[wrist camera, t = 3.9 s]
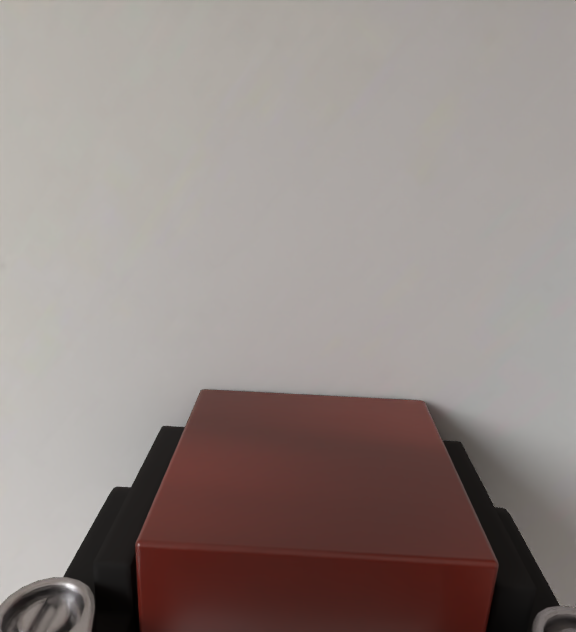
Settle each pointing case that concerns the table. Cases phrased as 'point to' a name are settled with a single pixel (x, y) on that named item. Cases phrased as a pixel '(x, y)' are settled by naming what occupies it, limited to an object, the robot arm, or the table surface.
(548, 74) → the table surface
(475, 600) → the block
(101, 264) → the table surface
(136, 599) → the robot arm
